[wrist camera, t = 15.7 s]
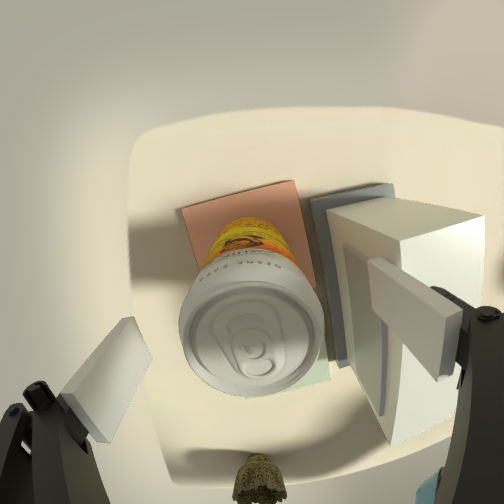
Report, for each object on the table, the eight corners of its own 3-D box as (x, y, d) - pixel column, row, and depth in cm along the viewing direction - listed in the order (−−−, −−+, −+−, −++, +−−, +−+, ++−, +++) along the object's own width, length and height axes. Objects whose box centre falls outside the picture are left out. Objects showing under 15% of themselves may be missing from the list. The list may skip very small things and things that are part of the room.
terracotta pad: (314, 284, 26) (316, 287, 25) (214, 308, 27) (213, 311, 26) (292, 180, 24) (294, 180, 23) (183, 208, 24) (181, 209, 24)
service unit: (397, 339, 28) (459, 417, 15) (335, 360, 29) (377, 456, 15) (385, 183, 24) (492, 194, 10) (308, 199, 24) (377, 223, 11)
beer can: (274, 207, 24) (315, 250, 9) (291, 272, 25) (339, 382, 11) (206, 227, 24) (147, 296, 9) (227, 290, 25) (206, 412, 11)
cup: (288, 447, 33) (294, 489, 25) (276, 469, 35) (279, 507, 27) (237, 443, 32) (236, 488, 25) (230, 466, 34) (229, 505, 26)
